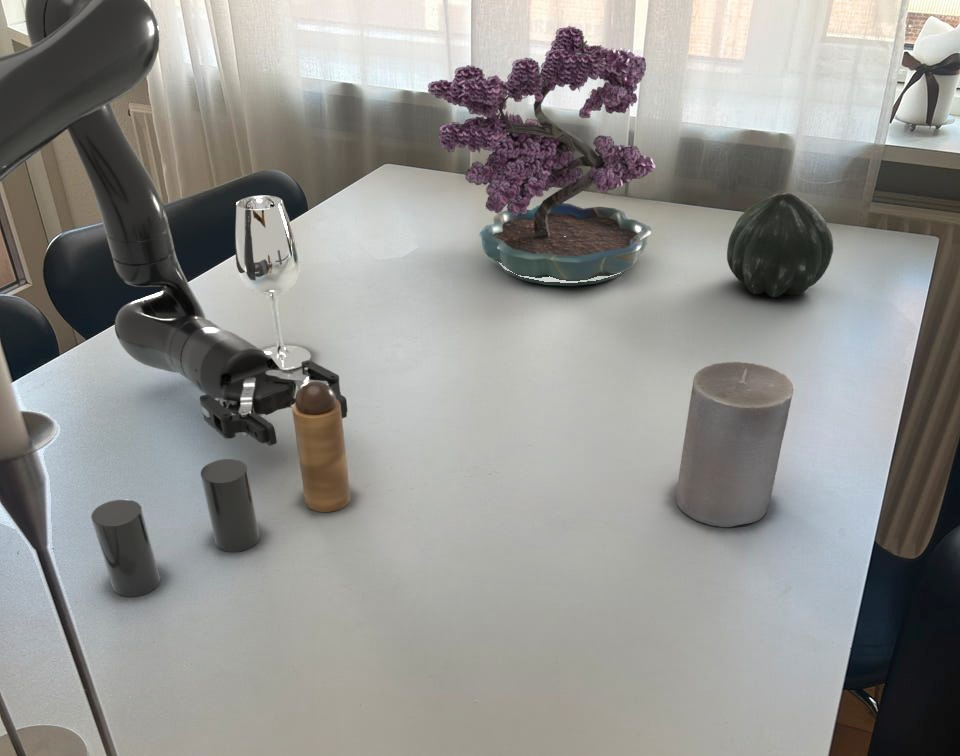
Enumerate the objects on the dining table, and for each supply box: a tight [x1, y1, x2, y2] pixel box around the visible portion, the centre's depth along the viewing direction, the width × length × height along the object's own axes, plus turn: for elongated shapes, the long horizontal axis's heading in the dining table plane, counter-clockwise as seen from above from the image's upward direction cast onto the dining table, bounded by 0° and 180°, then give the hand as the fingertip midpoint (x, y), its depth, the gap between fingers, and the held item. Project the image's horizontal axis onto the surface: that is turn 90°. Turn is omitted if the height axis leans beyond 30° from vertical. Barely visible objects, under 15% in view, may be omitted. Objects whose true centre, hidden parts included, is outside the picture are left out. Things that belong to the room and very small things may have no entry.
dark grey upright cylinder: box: [90, 499, 161, 598], centre depth 93 cm, size 4×4×8 cm
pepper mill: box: [291, 381, 351, 513], centre depth 102 cm, size 5×5×14 cm
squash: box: [726, 191, 834, 298], centre depth 147 cm, size 14×15×15 cm
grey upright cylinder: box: [200, 458, 260, 553], centre depth 98 cm, size 4×4×8 cm
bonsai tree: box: [427, 25, 657, 287], centre depth 148 cm, size 35×27×32 cm
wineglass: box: [234, 195, 312, 371], centre depth 126 cm, size 8×8×20 cm
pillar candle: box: [675, 361, 794, 528], centre depth 101 cm, size 10×10×15 cm
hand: (309, 423), depth 102 cm, fingers open, 8 cm apart
